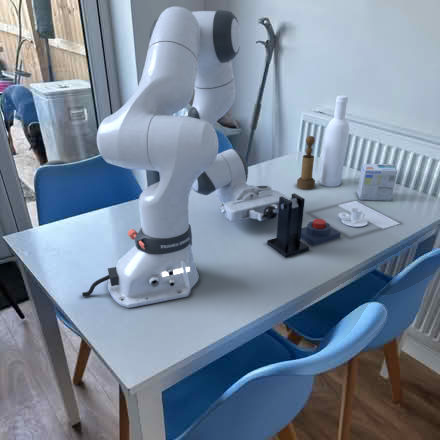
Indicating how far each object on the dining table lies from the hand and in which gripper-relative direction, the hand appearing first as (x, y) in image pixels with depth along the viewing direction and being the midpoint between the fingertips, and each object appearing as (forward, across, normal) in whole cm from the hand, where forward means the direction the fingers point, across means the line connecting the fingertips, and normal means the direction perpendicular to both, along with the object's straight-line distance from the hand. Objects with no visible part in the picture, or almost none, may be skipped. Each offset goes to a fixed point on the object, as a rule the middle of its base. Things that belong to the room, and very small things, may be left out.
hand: (270, 215), depth 123 cm
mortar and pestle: (-25, +33, +6) cm, 42 cm away
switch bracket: (+9, 0, +6) cm, 11 cm away
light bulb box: (-5, +47, +6) cm, 48 cm away
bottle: (-23, +43, +6) cm, 49 cm away
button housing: (+8, +12, +6) cm, 15 cm away
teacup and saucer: (+4, +29, +6) cm, 30 cm away
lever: (+5, 0, -2) cm, 6 cm away
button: (+8, +11, +3) cm, 14 cm away
